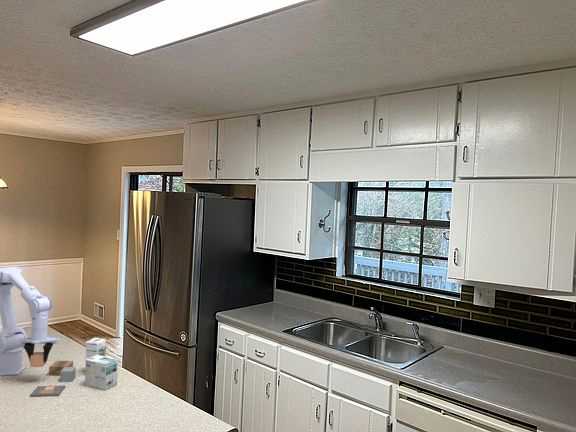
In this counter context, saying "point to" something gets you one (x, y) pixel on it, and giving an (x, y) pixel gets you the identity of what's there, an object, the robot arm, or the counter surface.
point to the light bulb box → (101, 372)
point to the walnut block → (59, 367)
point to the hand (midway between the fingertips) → (38, 361)
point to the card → (47, 391)
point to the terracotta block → (37, 359)
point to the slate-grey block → (68, 374)
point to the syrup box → (95, 347)
